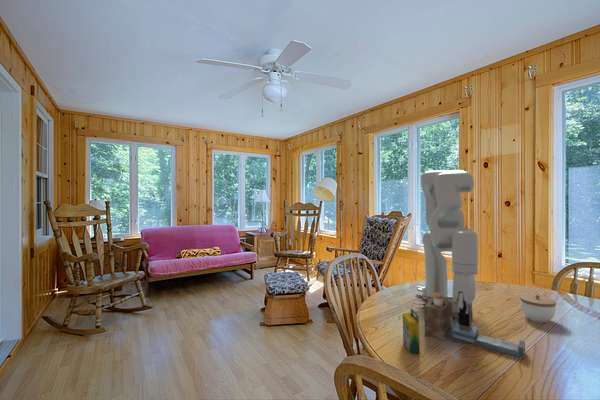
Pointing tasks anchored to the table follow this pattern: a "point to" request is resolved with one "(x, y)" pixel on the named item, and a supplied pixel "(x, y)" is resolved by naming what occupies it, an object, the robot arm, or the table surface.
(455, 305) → the nautilus
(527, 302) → the lidded jar
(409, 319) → the crayon box
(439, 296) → the orange and grey cylinder
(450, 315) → the end cabinet
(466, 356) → the table surface
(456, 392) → the table surface
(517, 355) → the rail
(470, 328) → the carriage
